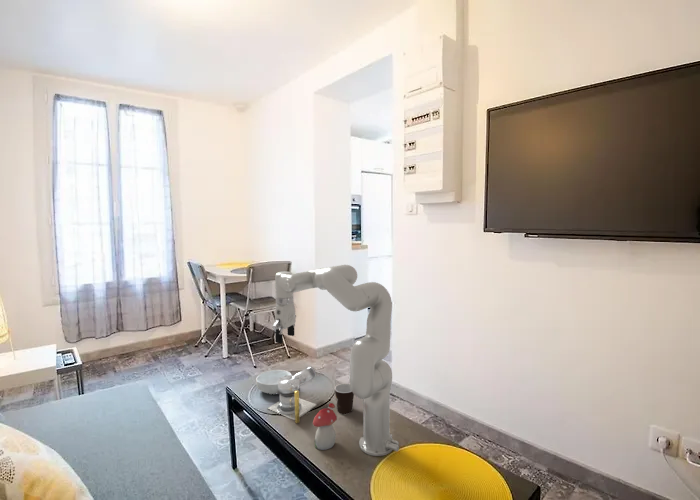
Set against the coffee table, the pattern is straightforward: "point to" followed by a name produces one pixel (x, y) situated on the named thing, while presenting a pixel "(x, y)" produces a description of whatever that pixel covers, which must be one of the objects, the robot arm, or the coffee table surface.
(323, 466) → the coffee table surface
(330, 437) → the decorative ornament
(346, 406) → the coffee mug
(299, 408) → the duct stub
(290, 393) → the elbow
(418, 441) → the coffee table surface
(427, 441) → the coffee table surface
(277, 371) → the cereal bowl
